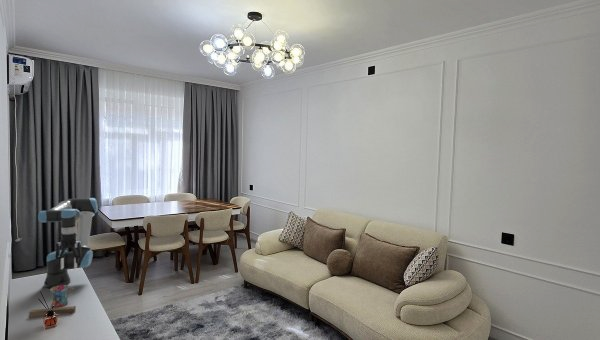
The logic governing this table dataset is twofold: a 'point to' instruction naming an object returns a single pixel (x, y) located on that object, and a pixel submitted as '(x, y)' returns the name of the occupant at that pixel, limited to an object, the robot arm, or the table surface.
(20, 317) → the table surface
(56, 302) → the mug
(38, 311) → the board
